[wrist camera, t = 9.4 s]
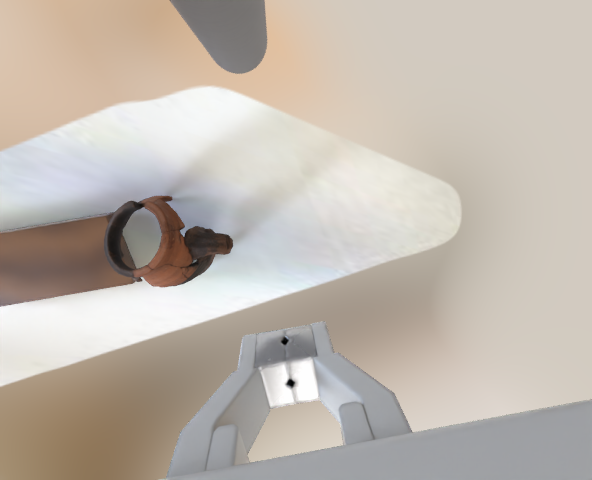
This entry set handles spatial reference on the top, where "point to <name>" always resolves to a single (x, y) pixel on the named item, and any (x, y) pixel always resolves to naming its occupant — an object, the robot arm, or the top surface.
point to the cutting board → (57, 260)
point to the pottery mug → (165, 245)
